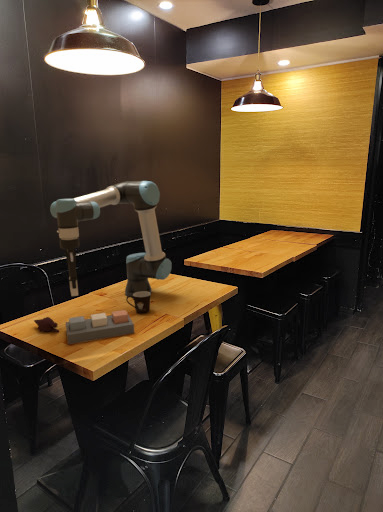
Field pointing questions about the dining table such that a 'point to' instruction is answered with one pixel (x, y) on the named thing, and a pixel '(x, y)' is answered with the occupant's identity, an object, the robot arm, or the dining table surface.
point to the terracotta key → (119, 316)
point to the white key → (98, 320)
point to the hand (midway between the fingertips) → (74, 293)
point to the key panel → (99, 331)
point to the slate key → (77, 323)
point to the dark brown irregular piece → (46, 325)
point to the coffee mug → (141, 302)
